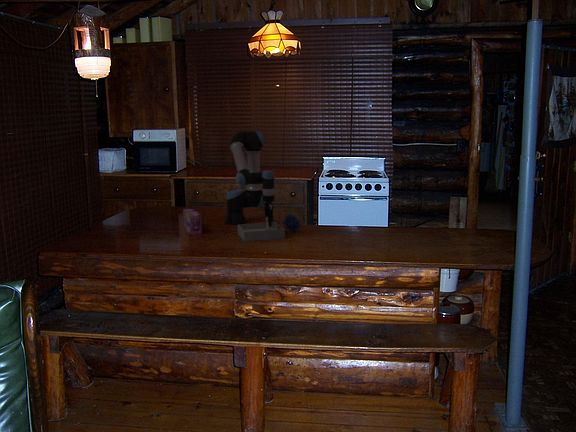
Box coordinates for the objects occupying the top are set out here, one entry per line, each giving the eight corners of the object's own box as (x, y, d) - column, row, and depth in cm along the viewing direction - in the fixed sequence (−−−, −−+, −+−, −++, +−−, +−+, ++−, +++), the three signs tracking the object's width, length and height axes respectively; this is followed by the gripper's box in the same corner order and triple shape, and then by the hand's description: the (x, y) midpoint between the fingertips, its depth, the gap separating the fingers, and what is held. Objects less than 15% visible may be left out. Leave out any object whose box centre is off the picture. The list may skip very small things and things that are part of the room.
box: (237, 233, 377) (237, 224, 376) (276, 230, 384) (275, 222, 383) (244, 241, 356) (244, 232, 355) (284, 238, 363) (284, 229, 362)
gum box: (202, 234, 377) (202, 213, 374) (191, 235, 374) (190, 214, 372) (195, 226, 399) (194, 207, 396) (183, 227, 396) (182, 208, 393)
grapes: (282, 233, 378) (282, 215, 375) (283, 230, 384) (283, 213, 382) (299, 233, 376) (299, 215, 373) (301, 231, 382) (301, 213, 380)
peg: (265, 235, 373) (265, 217, 371) (271, 234, 374) (271, 216, 372) (266, 236, 369) (266, 218, 367) (272, 236, 370) (272, 217, 368)
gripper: (259, 193, 373) (260, 228, 378) (266, 197, 357) (266, 233, 362) (270, 192, 375) (271, 227, 380) (277, 196, 359) (278, 233, 364)
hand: (269, 230), depth 371 cm, fingers closed on peg, 4 cm apart
